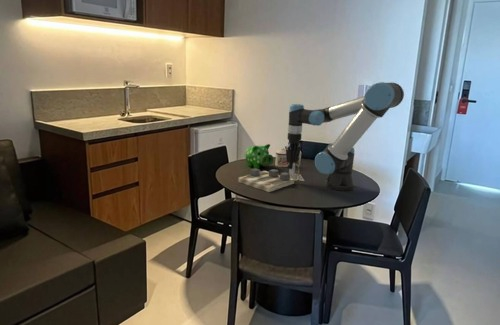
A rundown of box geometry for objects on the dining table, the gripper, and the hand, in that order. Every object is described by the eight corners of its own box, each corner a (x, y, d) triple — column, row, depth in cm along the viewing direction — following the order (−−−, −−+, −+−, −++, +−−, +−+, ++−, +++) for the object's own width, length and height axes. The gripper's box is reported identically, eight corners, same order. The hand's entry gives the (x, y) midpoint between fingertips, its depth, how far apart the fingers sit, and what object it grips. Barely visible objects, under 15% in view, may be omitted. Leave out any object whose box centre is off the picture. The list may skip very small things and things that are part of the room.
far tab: (259, 175, 209) (259, 169, 208) (254, 176, 206) (255, 170, 205) (255, 173, 211) (255, 168, 211) (250, 174, 209) (250, 169, 208)
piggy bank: (258, 172, 225) (259, 148, 221) (240, 165, 238) (240, 142, 235) (275, 168, 234) (276, 145, 230) (256, 162, 247) (257, 140, 243)
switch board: (294, 183, 206) (294, 178, 205) (268, 192, 190) (269, 186, 189) (264, 174, 220) (264, 170, 219) (238, 182, 204) (238, 177, 203)
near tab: (289, 179, 204) (289, 173, 203) (284, 180, 201) (285, 175, 200) (284, 177, 206) (284, 172, 205) (279, 179, 203) (280, 173, 202)
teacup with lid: (277, 167, 236) (278, 150, 233) (273, 164, 245) (274, 146, 242) (295, 167, 239) (296, 149, 236) (290, 163, 248) (291, 146, 245)
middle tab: (278, 175, 209) (278, 170, 208) (273, 177, 206) (273, 171, 205) (273, 174, 211) (273, 169, 210) (268, 175, 208) (269, 170, 207)
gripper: (296, 130, 209) (293, 170, 215) (281, 132, 199) (279, 174, 205) (307, 132, 204) (303, 173, 210) (293, 135, 194) (289, 177, 201)
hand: (291, 173), depth 208 cm, fingers closed
